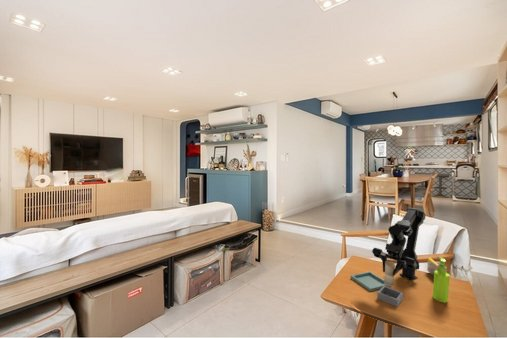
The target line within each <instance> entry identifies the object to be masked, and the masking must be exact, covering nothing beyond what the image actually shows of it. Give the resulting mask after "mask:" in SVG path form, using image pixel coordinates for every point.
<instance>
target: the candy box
mask: <svg viewBox="0 0 507 338" xmlns="http://www.w3.org/2000/svg"><path fill="white" fill-rule="evenodd" d="M438 265H439V264H438V263H437V262H436V261H435V260H434V259H433V258H432V257H427V267H426V269H427V272H428V273H430V275H432V277H434V271H436V270H438Z"/></svg>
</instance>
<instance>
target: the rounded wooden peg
mask: <svg viewBox="0 0 507 338" xmlns="http://www.w3.org/2000/svg"><path fill="white" fill-rule="evenodd" d="M395 267H396V262H395V261H394V260H390V259H389V260H388V259H387V260H386V261H385V272H384V278H383V279H384V284H385V285H387V286H390V287H394V285H395V284H394V283H395V275H394V276H393V272H394V269H395Z"/></svg>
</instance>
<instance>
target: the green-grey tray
mask: <svg viewBox="0 0 507 338" xmlns="http://www.w3.org/2000/svg"><path fill="white" fill-rule="evenodd" d="M350 280H351V281H354V282H356V283H357V284H359V285H360V286H362V287H364V289H366V290H368V291H369V292H375V291H379V290H380V289H381V288H382V287H383V286H386V287H389V288H391V286H387V285H385V284H384V278H382V277H380V276H379V275H377V274H375V273H373V272H372V271H370V270H369V271H365V272H360V273H356V274H355V273H354V274H350Z"/></svg>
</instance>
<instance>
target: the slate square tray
mask: <svg viewBox="0 0 507 338" xmlns="http://www.w3.org/2000/svg"><path fill="white" fill-rule="evenodd" d="M376 295H377V300H379V301H382V302H384V303H387V304H389V305H390V306H391V305H392V306H394V307H396V308H398V306H399V305H400V303H401V302H402V301H403V300H404V299H403V298H404V292H401V291H399V290H396V289H394V288H391V287H386V286H383V287H382V288H381V289H378V290H377V294H376Z"/></svg>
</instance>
